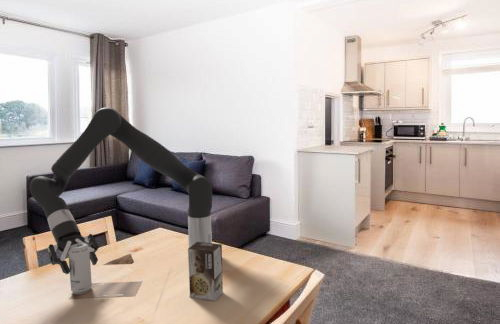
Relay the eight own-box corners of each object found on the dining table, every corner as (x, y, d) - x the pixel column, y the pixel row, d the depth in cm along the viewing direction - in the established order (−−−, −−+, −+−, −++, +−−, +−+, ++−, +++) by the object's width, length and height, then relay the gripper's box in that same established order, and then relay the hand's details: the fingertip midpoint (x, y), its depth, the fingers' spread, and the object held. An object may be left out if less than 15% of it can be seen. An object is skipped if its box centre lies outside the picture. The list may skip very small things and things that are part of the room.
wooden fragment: (105, 285, 117) (105, 282, 117) (77, 282, 120) (77, 279, 119) (144, 256, 142) (144, 253, 142) (121, 254, 144) (120, 251, 144)
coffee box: (223, 292, 111) (222, 244, 109) (215, 302, 105) (214, 251, 103) (198, 287, 114) (197, 240, 112) (188, 297, 108) (187, 247, 106)
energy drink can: (67, 291, 110) (64, 246, 108) (85, 284, 115) (82, 241, 113) (77, 297, 107) (74, 250, 105) (95, 289, 112) (92, 244, 110)
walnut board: (142, 284, 117) (142, 281, 117) (135, 299, 107) (135, 296, 107) (82, 286, 116) (81, 283, 115) (68, 302, 106) (68, 299, 106)
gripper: (42, 225, 107) (61, 270, 101) (88, 215, 118) (107, 255, 112) (37, 238, 111) (55, 282, 105) (81, 227, 122) (100, 266, 116)
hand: (82, 268), depth 109 cm, fingers open, 8 cm apart
